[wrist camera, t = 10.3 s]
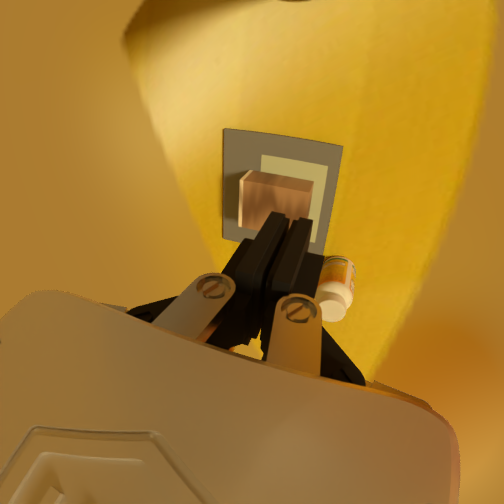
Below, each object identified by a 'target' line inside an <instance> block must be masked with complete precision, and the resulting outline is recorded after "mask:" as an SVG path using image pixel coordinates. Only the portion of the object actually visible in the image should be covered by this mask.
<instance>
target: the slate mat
mask: <svg viewBox="0 0 504 504" xmlns="http://www.w3.org/2000/svg"><path fill="white" fill-rule="evenodd" d="M342 150H343V146H340V145H335V144H330V143H324V142H319V141H314V140H308V139H302V138H296V137H290V136H283V135H276V134H269V133H262V132H254V131H246V130H237V129H227V128H225V129H224V185H223V239H227V240H232V241H236V242H240V243H241V242H242V241H243V239H244V238H249V239H253V240H254V239H255V237H256V236H257V234H258V232H259V231H257V230H253V229H248V228H243V227H239V226H238V219H239V187H240V179H241V178H242V177H243V176H244V175H245V174H246V173H247V172H248V171H249V170H254V171H260V172H266V173H272V174H278V175H283V176H289V177H294V178H299V179H304V180H310V181H314V185H313V192H312V198H311V205H310V211H309V217H308V219H311V220H313V226H312V232H311V237H310V243H309V248H308V252H310V253H314V254H319V255H323V251H324V246H325V241H326V237H327V232H328V227H329V222H330V217H331V212H332V207H333V202H334V196H335V191H336V185H337V180H338V174H339V168H340V162H341V156H342Z"/></svg>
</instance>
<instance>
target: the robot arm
mask: <svg viewBox="0 0 504 504" xmlns="http://www.w3.org/2000/svg"><path fill="white" fill-rule="evenodd" d="M289 224H290V218H286V215H285V214H283V213H279V212H274V211H271V213H270V214H269V216H268V218H267V219H266V221H265V222H264V224H263V226H262V227H261V229H260V231H259V232H258V234H257V236H256V237H255V239H254V240H253V239H249V238H244V239H243V241H242V242H241V244H240V245H239V247H238V248H237V250H236V251H235V253H234V254H233V256H232V257H231V259H230V260H229V262H228V263H227V265H226V266H225V268H224V269H223V271H222V272H221V273H207V274H204V275H201V276H199V277H198V278H197V279H195V280H194V281H193V282H192V283H191V284H190V285H189V286H188V287H187V288H186V289H185V290H184V291H183V292H182V293H181V294H180V295H179V296H175V297H172V298H168V299H164V300H161V301H157V302H153V303H149V304H146V305H142V306H138V307H135V308H133V309H131V310H130V311H128V310H127V308H126V307H121V306H115V305H109V304H104V303H98V302H96V301H93V300H90V299H87V298H85V297H82V296H79V295H76V294H72V293H69V292H64V291H58V290H42V291H36V292H33V293H31V294H29V295H27V296H26V297H25V298H23V299H22V300H21V301H20V302H18V303H17V304H16V305H15V306H14V307H13V308H12V309H10V310H9V311H8V312H7V313H6V314H5V315H4V316H3V317H2V318H1V319H0V504H458V500H459V488H460V454H459V445H458V440H457V437H456V434H455V432H454V429H453V427H452V426H451V425H450V423H449V422H448V421H447V420H446V419H445V418H444V417H443V416H441V415H440V414H438V413H437V412H436V411H434V410H433V409H432V407H431V406H430V405H429V404H428V403H427V402H425V401H424V400H422V399H419V398H417V397H414V396H412V395H409V394H406V393H404V392H402V391H399V390H397V389H394V388H392V387H389V386H387V385H384V384H382V383H379V382H377V381H375V380H374V382H373V383H371V382H369V381H366V380H365V379H364V376H363V375H362V373H361V372H360V370H359V369H358V368H357V367H356V366H355V364H354V363H353V362H352V361H351V360H350V359H349V357H348V356H347V355H346V354H345V353H344V351H343V350H342V349H341V348H340V347H339V345H338V344H337V343H336V342H335V341H334V339H333V338H332V337H331V336H330V335H329V334H328V332H327V331H326V330H325V329H324V328H323V326H322V310H321V307H320V305H319V303H318V302H317V301H316V300H314V298H315V295H316V291H317V287H318V283H319V278H320V274H321V270H322V266H323V261H324V257H325V256H323V255H319V254H314V253H310V252H308V248H309V243H310V237H311V232H312V226H313V220H311V219H307V218H302V217H299V219H298V220H293V222H292V224H291V226H290V228H289ZM260 329H261V335H260V340H261V350H262V351H263V353H264V355H265V356H266V358H267V360H266V362H265V361H262V360H258V359H254V358H251V357H248V356H245V355H241V354H238V353H235V352H234V348H235V346H237V345H240V344H244V345H248V344H249V342H250V340H251V338H254V339H256V338H257V336H258V334H259V332H260Z"/></svg>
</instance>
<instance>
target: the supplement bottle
mask: <svg viewBox="0 0 504 504" xmlns="http://www.w3.org/2000/svg"><path fill="white" fill-rule="evenodd" d="M355 275H356V269H355V266H354V264H353V263H352V262H351V261H350V260H349V259H347V258H345V257H340V256H335V257H331V258H329V259H327V260H326V261H325V262H324V264H323V266H322V270H321V274H320V278H319V283H318V287H317V291H316V295H315V300H316V301H317V302H318V303H319V305H320V307H321V310H322V319H323V320H325V321H328V322H336V321H339V320H341V319H342V318H343V317H344V316H345V313H346V309H347V308H349V306H350V305H351V303H352V300H353V293H354V285H355Z"/></svg>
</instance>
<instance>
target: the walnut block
mask: <svg viewBox="0 0 504 504" xmlns="http://www.w3.org/2000/svg"><path fill="white" fill-rule="evenodd" d="M313 185H314V181H310V180H304V179H299V178H294V177H289V176H283V175H278V174H272V173H266V172H260V171H254V170H249V171H248V172H247V173H246V174H245V175H244V176H243V177H242V178H241V179H240V187H239V219H238V226H239V227H243V228H248V229H253V230H257V231H260V229H261V227H262V226H263V224H264V222H265V221H266V219H267V218H268V216H269V214H270V213H271V211H274V212H279V213H283V214H285V215H286V218H290V224H289V228H290V226H291V224H292V222H293V220H298V219H299V217H302V218H307V219H308V217H309V211H310V205H311V198H312V192H313Z"/></svg>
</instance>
